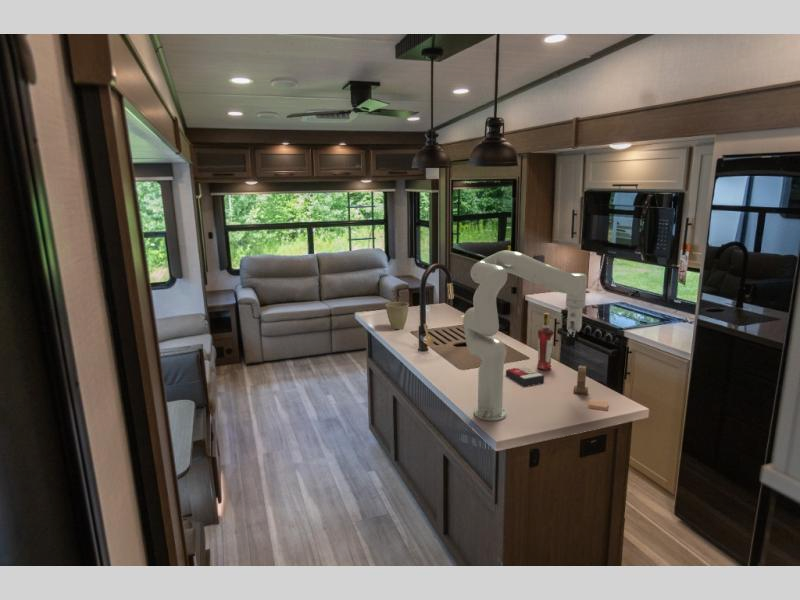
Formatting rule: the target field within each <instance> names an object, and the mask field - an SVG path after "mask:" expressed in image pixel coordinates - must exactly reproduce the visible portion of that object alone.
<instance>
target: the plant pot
mask: <svg viewBox="0 0 800 600" xmlns="http://www.w3.org/2000/svg"><path fill="white" fill-rule="evenodd" d="M409 306H410V303H408V302H405V301H393V302H391V301H390V302H388V303H386V304H385V310H386V314H387V318H388V322H389V325H390V326H391V329H392V328H393V330H394V329H401V330H403V329H404V328H405V325H406V323H407V319H408V314H409V308H410V307H409Z"/></svg>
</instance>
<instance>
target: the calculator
mask: <svg viewBox="0 0 800 600" xmlns="http://www.w3.org/2000/svg"><path fill="white" fill-rule="evenodd" d="M505 376H506V377H507V376H508V378H509V377H510V378H509V379H511V380H512V379H513V380H512V381H514V380H515V381H514V382H516V383H518V384H519V383H520V384H519V385H521V386H522V385H523V386H522V387H529V386H528V385H530V386H534V385H533V384H535V385H539V384H538V383H541V384H544V383H543V382H545V375H543V374H542V373H539V372H537V371H536V370H533V369H530V368H529V367H527V366H525V365H524V366H519V367H513V368H508V369H506V370H505Z"/></svg>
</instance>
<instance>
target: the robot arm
mask: <svg viewBox="0 0 800 600" xmlns="http://www.w3.org/2000/svg"><path fill="white" fill-rule="evenodd" d="M508 274H510V275H511V274H512V275H515V276H517V277H519V278H522V279H523V280H526V281H529V282H531V283H533V284H537V285H540V286H545V287H549V289H550V290H552V291H554V292H557V293H560V294H566V296H565V297H566V298H565V307H566V308H567V318H566V320H567V321H566V330H567V335H566V346H570V347H575V345H576V341H579V332H580V331H581V329H582V326H583V325H582V324H583V308H584V309H585V307H586V296H587V283H588V276H587V274H585V273H583V272H582V273H581V272H572V273H570V272H568V271H565V270H562V269H560V268H557V267H555V266H552V265H550V264H547V263H545V262H543V261H539V260H538V259H535V258H533V257H531V256H528V255H527V254H524V253H522V252H518V251H512V250H507V249H505V250H501V251H497V252H495V253H493V254H491V255H489V256H486V257H485V258H483V259H481V260H479V261H478V262H476V263H474V264H473V266H472V267H471V268H470V278H471V279H472V281H473V282H474V283H476V284H477V285H478V284H479V285H478V286H477V288H476V290H475V292H474V294H473V298H472V301H473V302H472V303H473V307H469V308H468V309H467V310H466V311H465V313H464V315H463V319H462V323H463V324H462V325H463V332H464V337H465V342H466V343H465V344H466V347H467V349H468V351H469V353H470V354H472V355H474V356H475V357H477V358H479V359H481V363H480V366H479V367H478V375H477V377H478V379H477V380H478V381H477V383H478V385H477V388H478V390H477V406H476V407H475V408H474V410H473V415H474V416H475V417H476V418H478V419H480V420H483V421H488V422H495V421H496V422H497V421H500V420H503V419H505V418H506V416H507V411H506V409H504V408H503V399H504V398H503V397H504V396H503V395H504V391H503V389H504V368H505V367H504V366H505V361H506V356H507V348H506V345H505V344H504V342H503V341H502V340H501V339H499V338H496V337H495V335H497V333H498V331H499V329H500V324H499V323H500V321H499V314H498V308H497V307H498V305H497V297H498V294H499V292H500V290H502V288H503V287H504V286H505V285H506V282H507V280H508V276H509V275H508Z"/></svg>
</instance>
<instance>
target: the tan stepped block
mask: <svg viewBox="0 0 800 600" xmlns="http://www.w3.org/2000/svg"><path fill="white" fill-rule="evenodd" d="M586 377H587V365H578V368H577V381H576V383H577V384H576V385H574V386H573V392H572V393H573V394H575V393H576V394H577V395H583V396H588V394H589V387H587V386H586V380H587V379H586Z"/></svg>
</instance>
